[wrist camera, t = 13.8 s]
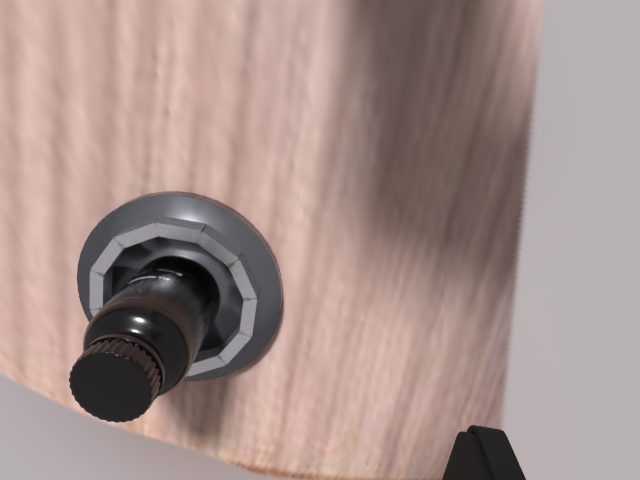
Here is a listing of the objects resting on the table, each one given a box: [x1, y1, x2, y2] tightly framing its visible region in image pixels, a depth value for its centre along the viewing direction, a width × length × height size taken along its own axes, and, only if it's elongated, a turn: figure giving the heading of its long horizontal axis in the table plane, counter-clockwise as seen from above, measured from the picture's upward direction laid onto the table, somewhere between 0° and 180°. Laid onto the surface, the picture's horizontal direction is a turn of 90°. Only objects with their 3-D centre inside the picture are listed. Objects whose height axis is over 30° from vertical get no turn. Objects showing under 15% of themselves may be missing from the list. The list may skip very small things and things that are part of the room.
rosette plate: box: [77, 191, 283, 381], centre depth 38 cm, size 16×16×3 cm
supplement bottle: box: [69, 255, 220, 423], centre depth 33 cm, size 7×7×12 cm
